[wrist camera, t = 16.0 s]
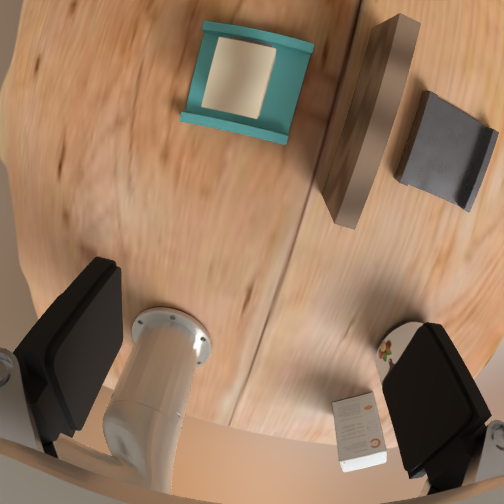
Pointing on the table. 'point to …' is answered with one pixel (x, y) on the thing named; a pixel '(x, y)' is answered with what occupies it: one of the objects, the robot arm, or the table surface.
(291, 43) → the teal square tray
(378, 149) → the door panel
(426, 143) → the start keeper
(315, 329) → the table surface
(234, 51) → the block
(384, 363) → the spread jar
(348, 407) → the small box
